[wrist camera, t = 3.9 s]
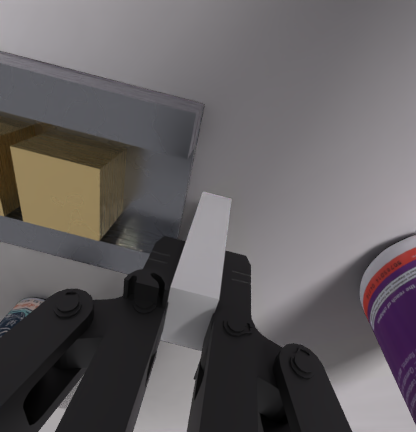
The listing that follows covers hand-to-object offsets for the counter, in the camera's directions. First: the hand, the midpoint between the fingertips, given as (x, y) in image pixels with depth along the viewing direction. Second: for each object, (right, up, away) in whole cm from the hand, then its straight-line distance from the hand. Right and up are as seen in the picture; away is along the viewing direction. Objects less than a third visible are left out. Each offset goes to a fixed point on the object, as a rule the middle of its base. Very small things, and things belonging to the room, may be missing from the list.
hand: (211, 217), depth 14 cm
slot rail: (-8, +3, +2) cm, 8 cm away
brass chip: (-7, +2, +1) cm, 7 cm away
